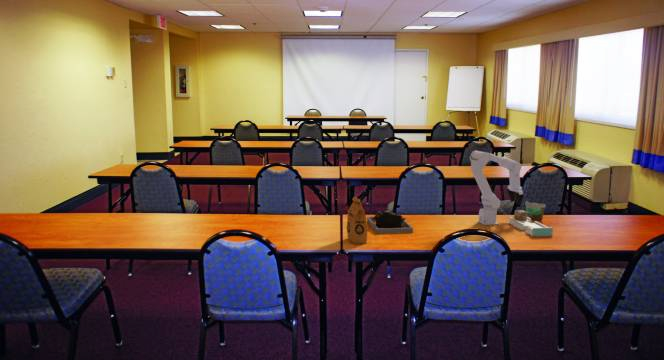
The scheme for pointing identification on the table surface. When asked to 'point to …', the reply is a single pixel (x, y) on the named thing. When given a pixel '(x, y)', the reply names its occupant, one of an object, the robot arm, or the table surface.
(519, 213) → the walnut block
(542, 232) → the trap runway
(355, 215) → the coffee package
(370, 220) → the tray
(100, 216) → the table surface
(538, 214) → the food container
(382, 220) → the black lump on tray
